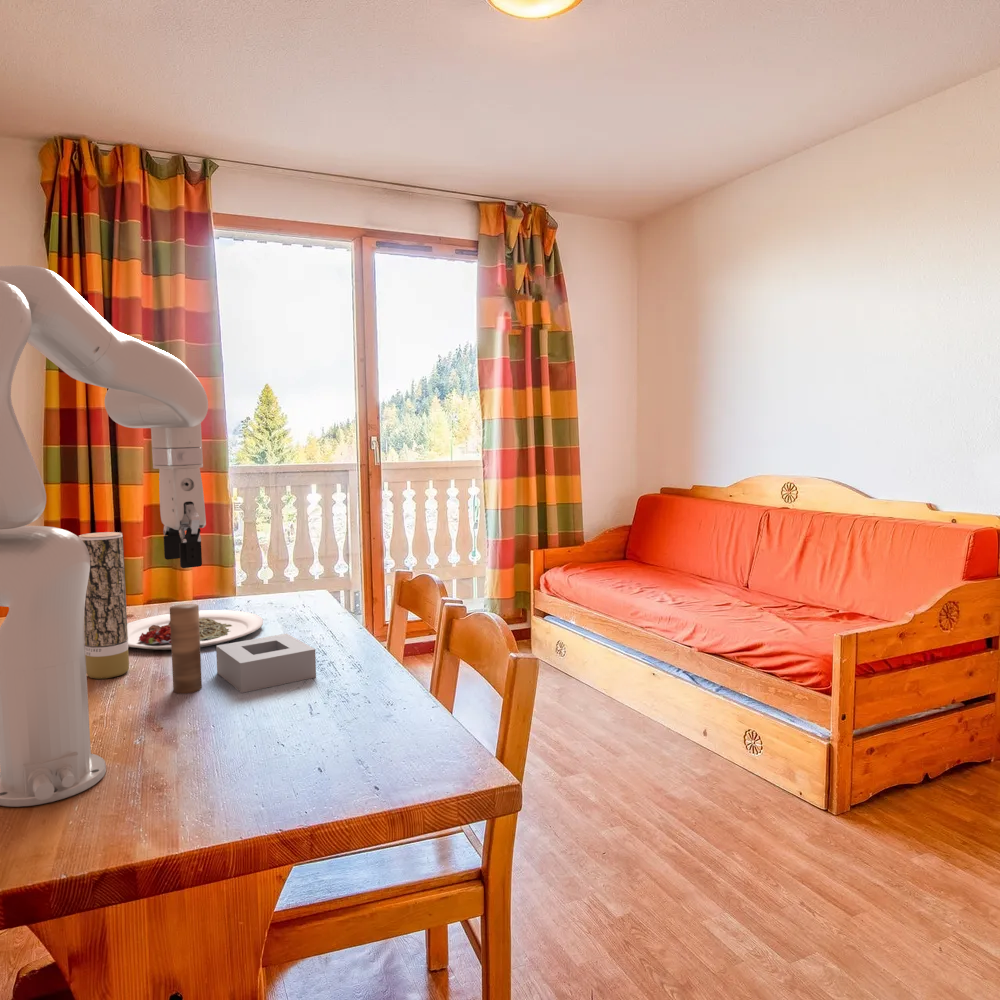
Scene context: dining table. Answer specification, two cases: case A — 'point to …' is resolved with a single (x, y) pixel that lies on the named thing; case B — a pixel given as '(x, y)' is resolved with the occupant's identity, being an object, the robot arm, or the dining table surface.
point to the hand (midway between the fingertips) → (182, 562)
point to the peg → (185, 648)
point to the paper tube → (105, 607)
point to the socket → (265, 662)
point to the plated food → (211, 626)
